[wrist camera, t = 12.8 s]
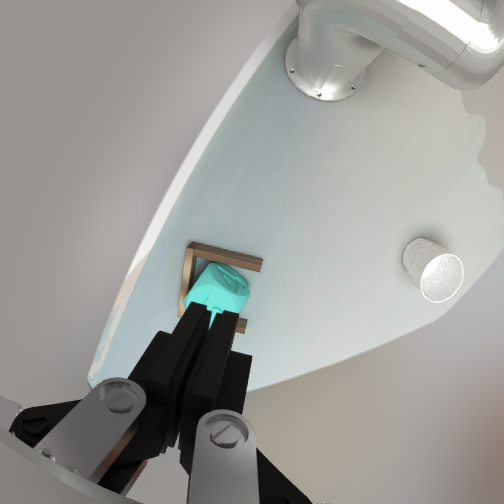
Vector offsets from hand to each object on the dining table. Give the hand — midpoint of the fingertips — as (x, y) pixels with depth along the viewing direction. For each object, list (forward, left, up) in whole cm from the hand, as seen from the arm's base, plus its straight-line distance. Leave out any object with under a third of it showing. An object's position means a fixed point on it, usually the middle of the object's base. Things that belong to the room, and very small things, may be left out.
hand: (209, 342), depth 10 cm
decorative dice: (+18, -4, -39) cm, 44 cm away
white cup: (+4, +28, -39) cm, 48 cm away
